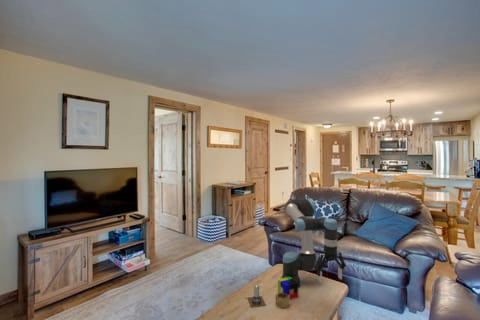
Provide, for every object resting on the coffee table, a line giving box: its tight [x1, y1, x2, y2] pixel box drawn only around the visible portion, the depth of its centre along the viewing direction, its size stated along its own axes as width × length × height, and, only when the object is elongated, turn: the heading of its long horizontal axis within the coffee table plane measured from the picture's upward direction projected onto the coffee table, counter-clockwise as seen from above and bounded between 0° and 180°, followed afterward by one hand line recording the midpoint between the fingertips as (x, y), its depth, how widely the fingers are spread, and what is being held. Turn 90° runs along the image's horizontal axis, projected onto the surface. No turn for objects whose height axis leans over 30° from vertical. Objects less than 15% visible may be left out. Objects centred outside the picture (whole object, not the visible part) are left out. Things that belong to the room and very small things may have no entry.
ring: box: [275, 292, 290, 309], centre depth 166 cm, size 8×8×6 cm
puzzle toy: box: [277, 277, 299, 300], centre depth 177 cm, size 10×10×10 cm
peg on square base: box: [247, 284, 267, 308], centre depth 168 cm, size 10×10×12 cm
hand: (330, 279), depth 150 cm, fingers open, 13 cm apart
